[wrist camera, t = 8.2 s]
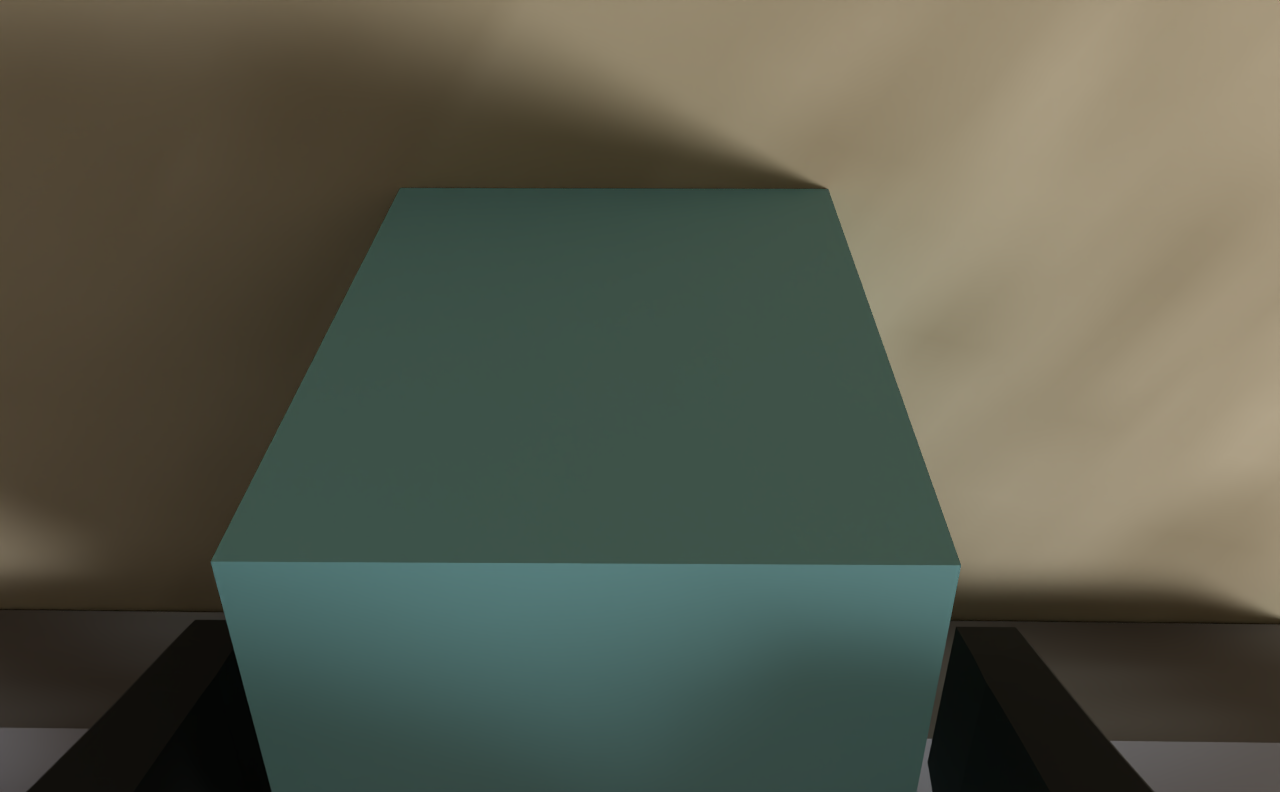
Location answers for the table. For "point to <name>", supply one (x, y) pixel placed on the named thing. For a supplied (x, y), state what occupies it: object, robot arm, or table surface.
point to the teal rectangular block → (594, 511)
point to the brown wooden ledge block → (1075, 651)
